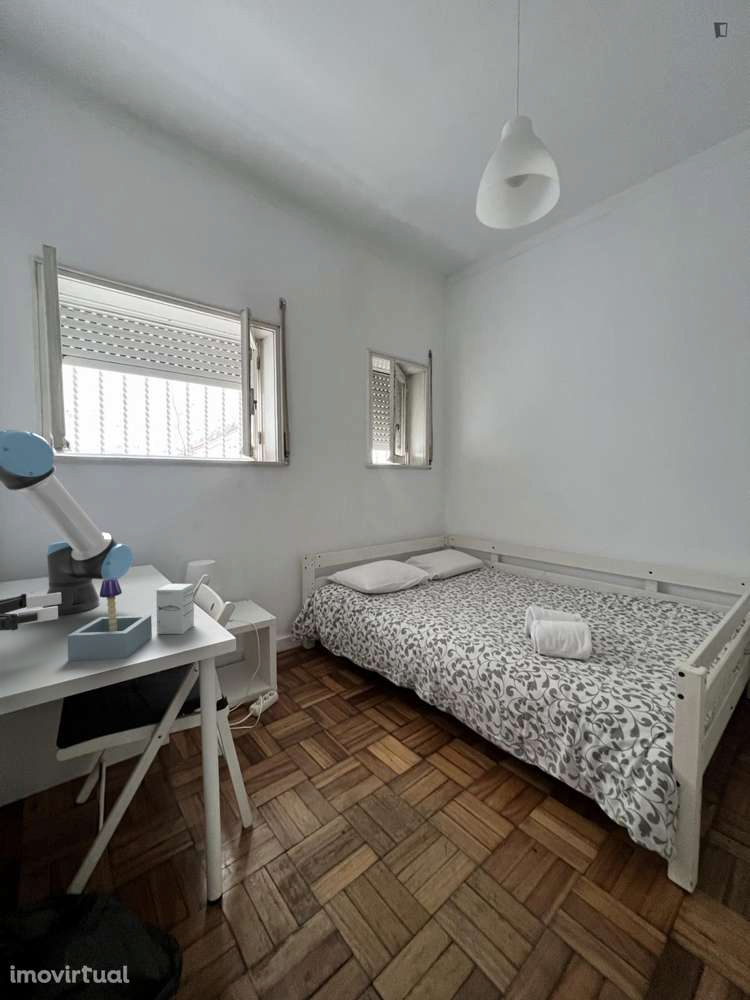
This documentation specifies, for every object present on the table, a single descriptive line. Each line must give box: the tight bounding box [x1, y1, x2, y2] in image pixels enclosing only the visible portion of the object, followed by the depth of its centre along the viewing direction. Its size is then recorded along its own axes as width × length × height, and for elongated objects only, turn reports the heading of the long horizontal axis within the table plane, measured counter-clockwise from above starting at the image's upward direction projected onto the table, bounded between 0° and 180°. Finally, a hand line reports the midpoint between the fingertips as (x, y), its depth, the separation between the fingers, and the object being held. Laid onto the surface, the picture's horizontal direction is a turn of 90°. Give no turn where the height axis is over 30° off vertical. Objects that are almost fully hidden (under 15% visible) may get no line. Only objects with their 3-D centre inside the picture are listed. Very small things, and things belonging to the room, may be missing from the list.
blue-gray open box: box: [66, 614, 153, 662], centre depth 99 cm, size 13×13×6 cm
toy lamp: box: [99, 578, 123, 632], centre depth 98 cm, size 5×5×17 cm
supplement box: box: [156, 583, 195, 635], centre depth 111 cm, size 7×7×13 cm
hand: (59, 604), depth 92 cm, fingers open, 13 cm apart
